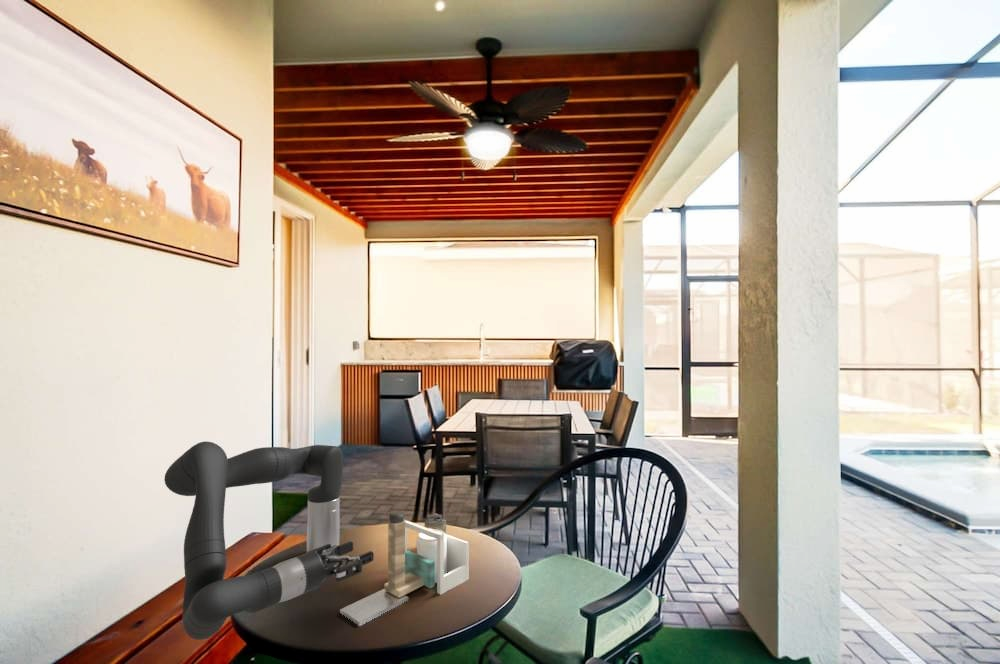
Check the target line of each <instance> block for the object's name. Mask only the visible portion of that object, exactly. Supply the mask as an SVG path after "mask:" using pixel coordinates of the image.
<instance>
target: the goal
mask: <svg viewBox="0 0 1000 664" xmlns="http://www.w3.org/2000/svg"><path fill="white" fill-rule="evenodd" d="M404 520H405V551H407V550H408V529H409V530H413V531H415V532H418V533H419V534H420V533H423V534H425V535H428V536H431V537H433V538H436V539H437V583H436V587H437V588H436V592H437V593H438V594H437V595H439V594H440V595H439V596H441V595H443V594H445V593H446V592H449V591H450V590H452V589H454V588H456V587H458V586H460V585H461V584H463V583H465V582H467V581H468V580H469V579H470V575H469V574H470V572H469V571H470V570H469V567H470V566H469V565H470V563H469V562H470V561H469V560H470V559H469V552H470V551H469V550H470V549H469V547H470V546H469V545H470V544H469V541H466V540H463V539H461V538H458V537H455V536H452V535H450V534H447V533H446V534H445V536H446V538H447V572H448V573H446V574H444V534H442V533H440V532H437V531H434V530H431V528H426V527H425V526H423V525H421V524H417V523H415V522H413V521H412V522H411V521H410V520H406V519H404Z"/></svg>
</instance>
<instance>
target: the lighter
mask: <svg viewBox="0 0 1000 664" xmlns="http://www.w3.org/2000/svg"><path fill="white" fill-rule="evenodd" d="M431 518H433V519H431ZM438 518H439V519H438ZM424 527H426V528H431V529H437V530H441V531H443V532H444V533H445V534H447V520H446V519H443V514H438V513H433V514H431V513H430V514H429V513H428V514H427V516H426V520H425V521H424Z"/></svg>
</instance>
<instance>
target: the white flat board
mask: <svg viewBox="0 0 1000 664" xmlns="http://www.w3.org/2000/svg"><path fill="white" fill-rule="evenodd" d="M406 601H407V602H409V596H407V594H405V595H403V596H401V597H397V596H395V595H393V594H391V593H389V592H388V591H386V590H384V588H383V589H380V590H378V591H377V592H375V593H373V594H370V595H367V596H366V597H364V598H361V599H359V600H357V601H355V602H353V603H351V604H349V605H346V606H345V607H343V608H340V609H339V614H340V613H341V614H342V615H341V614H340V615H341V616H343V615H344V616H345V617H344V616H343V617H344V618H346V617H347V618H348V619H347V618H346V619H347V620H349V619H350V620H351V621H350V620H349V621H350V622H352V621H353V622H354V623H353V622H352V623H353V624H355V623H356V624H357V626H358V627H362V626H363V625H365V624H367V623H369V622H371V621H373V620H374V618H375V619H376V618H378V617H380V616H382V615H384V614H386V613H388V612H390V611H392V610H394V609H396V608H397V606H398V607H400V606H402V605H403V604H405V603H407V602H406ZM404 602H405V603H404ZM402 603H403V604H402ZM399 605H400V606H399ZM395 607H396V608H395ZM393 608H394V609H393ZM391 609H392V610H391ZM389 610H390V611H389ZM387 611H388V612H387ZM385 612H386V613H385ZM383 613H384V614H383ZM381 614H382V615H381ZM372 619H373V620H372ZM366 622H367V623H366ZM356 624H355V625H356Z"/></svg>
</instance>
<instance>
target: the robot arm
mask: <svg viewBox="0 0 1000 664" xmlns="http://www.w3.org/2000/svg"><path fill="white" fill-rule="evenodd" d="M343 472H344V454H343V451H342V449H341V448H340V447H339V446H338V445H337V446H336V445H325V444H312V445H309V446H304V447H299V448H288V447H283V446H271V447H270V446H269V447H267V446H266V447H257V448H253V449H251V450H247V451H245V452H242V453H239V454H236V455H234V456H232V457H229V458H228V457H227V453H226V451H225V450H224V449H223V448H222V447H221V446H220V445H218V444H216V443H215V442H213V441H201V442H198V443H196V444H194V445H193V446H191V447H190V448H189V449H188V450H186V451H185V452H184V453H182V455H181V456H179V457H178V458H177V459H176V460H174V462H173V463H172V464H171V465H170V466H169V467H168V469H167V470H166V472H165V474H164V484H165V486H166V487H167V489H168V490H169V491H171V492H172V493H175V495H176V494H177V495H180V496H185V497H194V496H195V498H194V502H193V503H194V505H193V507H192V511H191V515H190V517H189V521H188V524H187V528H186V531H185V536H184V540H183V543H184V544H183V565H184V566H183V568H184V577H185V582H184V583H185V584H184V591H183V602H182V615H181V616H182V617H181V618H182V626H183V629H184V632H185V633H186V635H187V636H188V637H189V638H191V639H193V640H197V641H199V640H200V641H201V640H203V641H204V640H205V639H208V638H211V637H212V636H214V635H215V634H216V633H218V632H219V631H220V630H221V628H222V627H223V625H224V624H225V622H226V620H227V619H228V618H229V617H231V616H234V615H235V614H238V613H241V612H247V613H249V614H254V613H256V612H260V611H263V610H265V609H268V608H270V607H272V606H275V605H276V604H279V603H282V602H287V601H289V600H293V599H294V598H296V597H299V596H301V595H304V594H306V593H308V592H311V591H313V590H315V589H318V588H320V587H321V586H322V585H323V583H324V581H325V580H326V579H327V578H329V577H334V576H335V581H336V582H342V581H343V580H346V579H349V578H351V577H354V576H357V575H359V574H361V573H362V572H363V566H364V565H367V564H369V563H371V562H373V561H374V558H375V557H374V556H375V555H374V551H372V550H371V551H370V550H369V551H368V552H367V551H366V552H365V553H362V554H359V555H358V556H350V555H346V554H348V553H351V552H352V551H354V542H353V541H348V542H345V543H342V544H340V514H341V513H340V508H341V507H340V505H341V504H340V503H341V502H340V500H341V499H340V497H341V489H342V485H343ZM291 475H308V476H315V477H316V476H317V477H320V485H316V486H313V487H312V488H310V489H309V490H308V492H307V523H306V553H303V554H299V555H298V556H295V557H293V558H292V557H291V558H290V559H287V560H284V561H281V562H279V563H277V564H275V565H273V566H271V567H268V568H266V569H263V570H261V571H260V570H259V571H258V572H255V573H252V574H250V575H241V576H235V577H228V578H224V576H225V572H226V570H227V561H228V560H227V552H226V540H225V527H224V526H225V525H224V522H225V520H224V518H225V516H224V515H225V502H226V491H227V490H226V489H228V488H235V487H237V488H238V487H243V486H245V487H246V486H251V485H260V484H267V483H268V484H270V483H276V482H280V481H283V480H285V479H287V478H289V476H291Z"/></svg>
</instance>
